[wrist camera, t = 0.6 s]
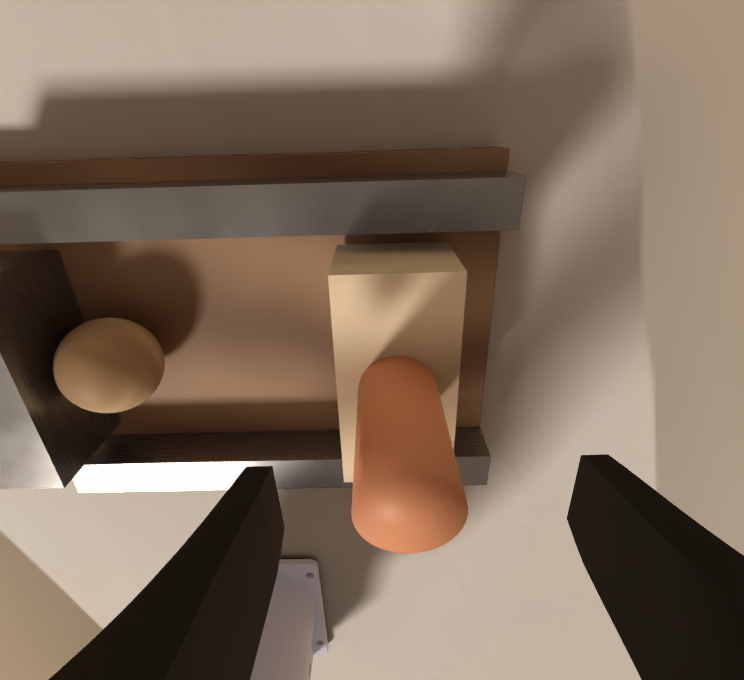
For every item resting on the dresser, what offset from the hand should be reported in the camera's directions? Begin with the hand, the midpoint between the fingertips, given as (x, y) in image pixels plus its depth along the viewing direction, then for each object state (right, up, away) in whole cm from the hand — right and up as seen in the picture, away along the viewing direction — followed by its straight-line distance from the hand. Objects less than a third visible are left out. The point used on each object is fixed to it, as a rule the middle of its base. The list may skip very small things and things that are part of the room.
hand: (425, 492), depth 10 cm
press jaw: (0, +4, +7) cm, 8 cm away
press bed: (-6, +4, +9) cm, 12 cm away
